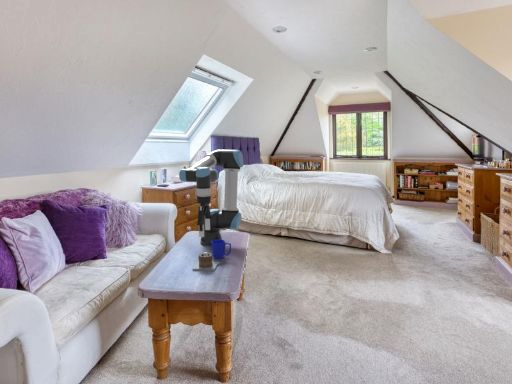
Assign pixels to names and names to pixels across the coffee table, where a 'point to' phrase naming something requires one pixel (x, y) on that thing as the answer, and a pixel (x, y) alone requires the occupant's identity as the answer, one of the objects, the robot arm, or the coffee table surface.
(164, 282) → the coffee table surface
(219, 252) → the mug
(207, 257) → the ring
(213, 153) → the robot arm
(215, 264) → the square plate with peg
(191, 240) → the coffee table surface
